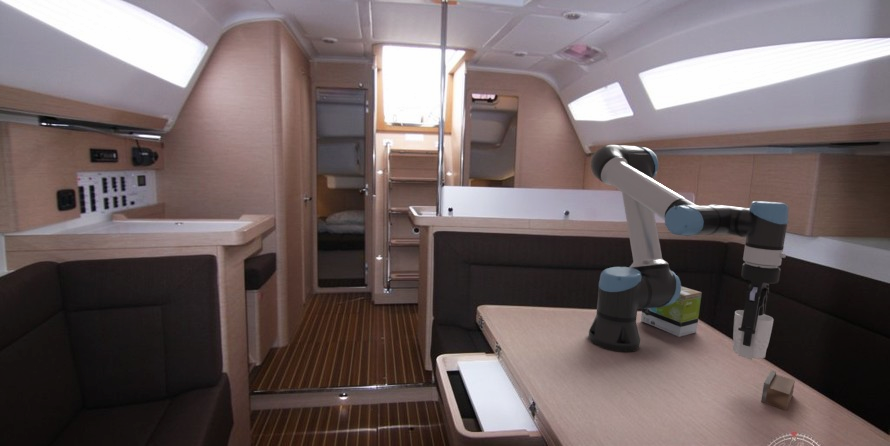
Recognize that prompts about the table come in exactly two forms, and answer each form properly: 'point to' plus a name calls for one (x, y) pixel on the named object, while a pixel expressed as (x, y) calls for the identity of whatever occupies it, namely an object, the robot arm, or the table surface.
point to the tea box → (676, 314)
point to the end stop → (777, 390)
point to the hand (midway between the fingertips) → (748, 352)
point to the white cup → (761, 332)
